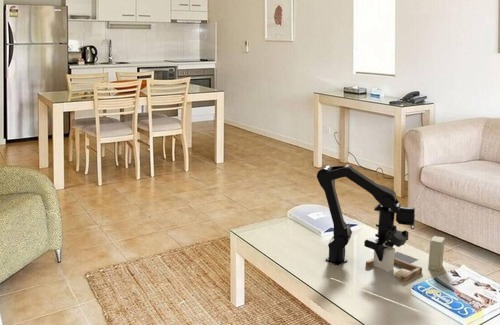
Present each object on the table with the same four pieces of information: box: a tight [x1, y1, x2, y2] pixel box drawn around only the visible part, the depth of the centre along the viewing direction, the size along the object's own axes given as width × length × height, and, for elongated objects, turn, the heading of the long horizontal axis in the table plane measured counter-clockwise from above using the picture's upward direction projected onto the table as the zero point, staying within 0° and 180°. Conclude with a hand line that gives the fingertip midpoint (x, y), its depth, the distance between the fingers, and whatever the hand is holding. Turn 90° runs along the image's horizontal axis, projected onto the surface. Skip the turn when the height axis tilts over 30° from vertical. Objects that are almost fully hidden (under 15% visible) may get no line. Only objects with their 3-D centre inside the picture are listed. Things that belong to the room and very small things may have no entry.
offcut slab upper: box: [394, 268, 411, 279], centre depth 193 cm, size 6×4×1 cm, turn 137°
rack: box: [365, 257, 423, 283], centre depth 197 cm, size 12×17×2 cm
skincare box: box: [427, 235, 446, 272], centre depth 199 cm, size 6×4×12 cm
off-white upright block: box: [372, 245, 396, 273], centre depth 198 cm, size 4×7×9 cm, turn 40°
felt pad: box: [394, 251, 419, 264], centre depth 208 cm, size 8×10×1 cm
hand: (383, 259), depth 199 cm, fingers closed on off-white upright block, 3 cm apart
